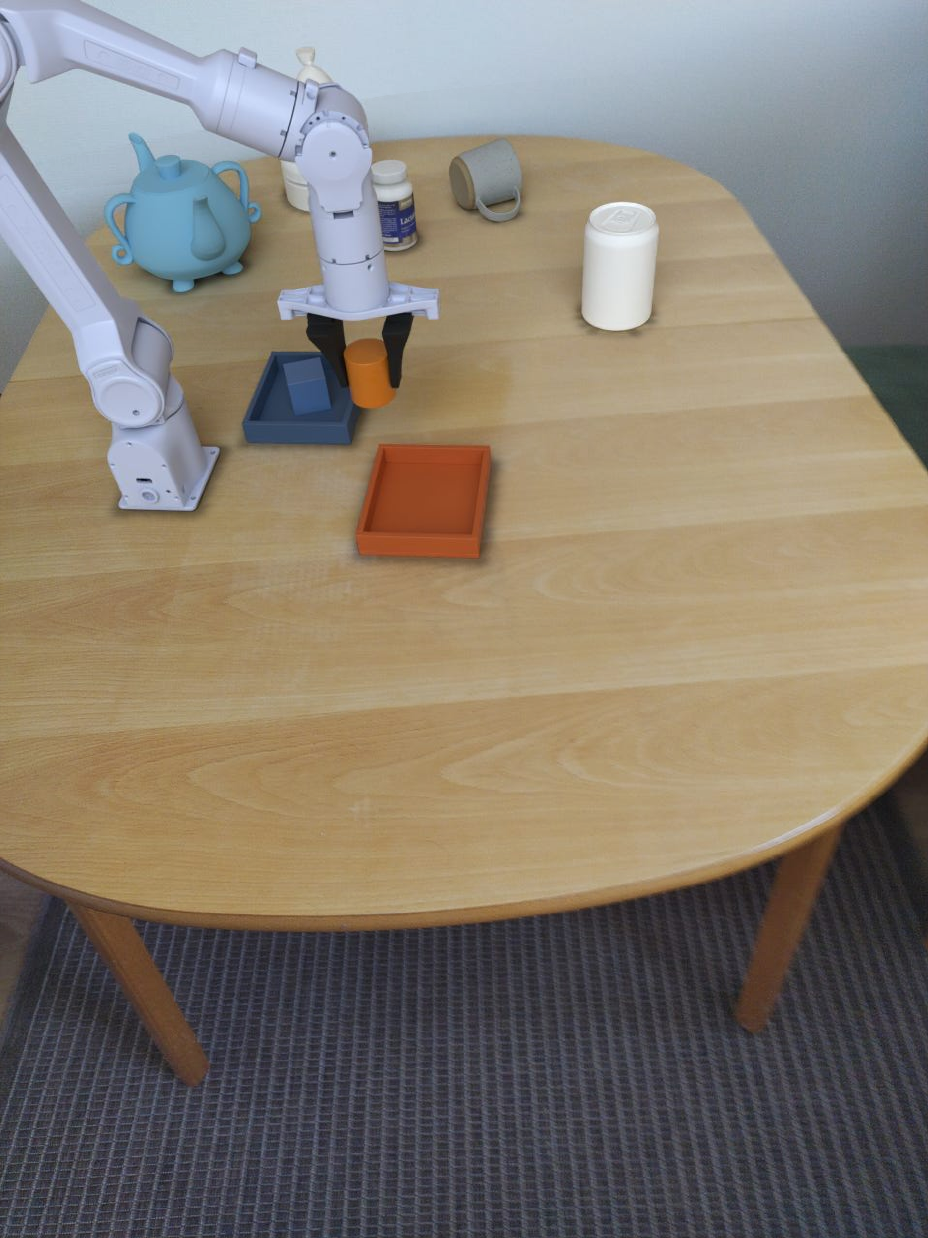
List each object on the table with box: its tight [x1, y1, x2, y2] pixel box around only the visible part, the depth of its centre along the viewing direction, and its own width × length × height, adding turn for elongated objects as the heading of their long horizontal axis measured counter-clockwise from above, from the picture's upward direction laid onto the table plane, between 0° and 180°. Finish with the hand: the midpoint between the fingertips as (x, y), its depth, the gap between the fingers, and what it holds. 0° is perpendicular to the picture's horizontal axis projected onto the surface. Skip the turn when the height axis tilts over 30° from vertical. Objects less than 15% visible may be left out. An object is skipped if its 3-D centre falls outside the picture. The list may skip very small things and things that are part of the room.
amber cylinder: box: [344, 337, 397, 409], centre depth 91 cm, size 4×4×5 cm
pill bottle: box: [371, 159, 418, 252], centre depth 123 cm, size 6×6×10 cm
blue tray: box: [241, 350, 362, 446], centre depth 103 cm, size 13×11×2 cm
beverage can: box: [581, 201, 660, 332], centre depth 107 cm, size 8×8×12 cm
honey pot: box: [279, 46, 373, 213], centre depth 131 cm, size 13×13×18 cm
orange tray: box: [355, 443, 492, 559], centre depth 90 cm, size 13×11×2 cm
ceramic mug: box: [448, 137, 524, 223], centre depth 128 cm, size 11×8×8 cm
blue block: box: [283, 357, 331, 416], centre depth 102 cm, size 4×4×4 cm
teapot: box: [103, 132, 263, 293], centre depth 120 cm, size 16×20×14 cm
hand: (371, 381), depth 91 cm, fingers closed on amber cylinder, 4 cm apart
